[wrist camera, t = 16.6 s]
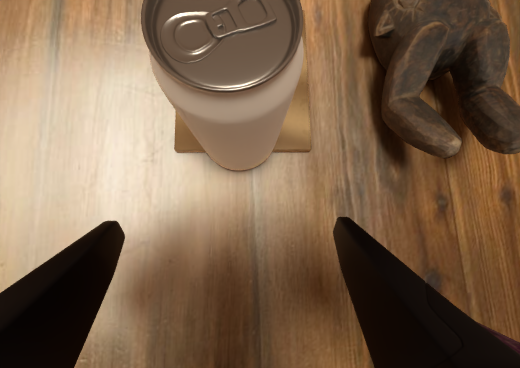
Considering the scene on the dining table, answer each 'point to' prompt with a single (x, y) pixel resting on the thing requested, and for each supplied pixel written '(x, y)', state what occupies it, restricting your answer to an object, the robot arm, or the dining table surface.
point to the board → (293, 128)
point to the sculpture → (445, 71)
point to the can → (227, 70)
